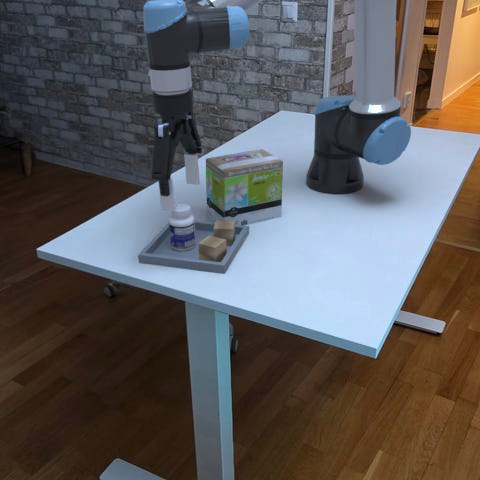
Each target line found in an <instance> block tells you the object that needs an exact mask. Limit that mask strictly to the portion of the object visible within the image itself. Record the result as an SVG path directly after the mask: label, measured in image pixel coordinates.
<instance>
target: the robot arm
mask: <svg viewBox="0 0 480 480" xmlns="http://www.w3.org/2000/svg"><path fill="white" fill-rule="evenodd" d="M263 1H264V0H186V1H184V0H150V1H146V2H145V4H144V6H143V8H142V10H143V12H142V13H143V15H142V16H143V17H142V18H143V20H142V21H143V32H144V37H145V38H144V40H145V45H146V46H145V47H146V51H147V60H148V70H149V71H148V72H147V75H148V77H149V81H150V88H151V90H152V91H153V92H152V93H151V100H152V109H153V112H154V113H155V114H156V115H159V116H160V117H161V124H155V125H154V127H153V129H154V130H153V131H154V142H153V143H154V144H153V155H152V156H153V157H152V167H151V180H155V181H158V191H159V197H160V198H159V199H160V200H159V201H160V208H161V211H170V212H171V211H175V210H176V197H175V194H176V193H175V186H174V185H175V184H174V178H173V177H171V176H172V170H173V165H174V160H175V155H176V148H177V147H178V146H180V143H181V146H182V147H183V149H184V151H185V153H184V154H183V159H184V169H185V181H186V185H200V183H201V181H200V168H199V156H198V155H199V154H202V152H203V148H202V147H201V146H202V142H201V139H200V135H199V131H198V129H197V128H198V127H197V125H196V121H195V118H194V111H193V110H194V100H193V98H194V97H193V91H192V90H191V88H192V87H193V82H192V70H191V60H190V59H191V58H190V56H191V55H196V54H201V53H202V54H203V53H210V52H211V53H212V52H220V51H232V50H235V49H239V48H243V47H245V45H246V44H247V42H248V41H249V37H250V34H251V33H250V20H249V17H248V15H247V11H248V10H250V9H252V8H253V7H256V6H257V5H258V4H260V3H262V2H263ZM396 16H397V0H354V61H355V62H354V64H355V65H354V67H355V68H354V69H355V70H354V73H355V76H354V77H355V80H354V82H355V83H354V84H355V94H354V95H353V94H349V95H348V94H347V95H345V94H344V95H333V96H327V97H322V98H321V99H319V100H318V101H316V102H317V103H316V105H315V112H314V116H315V117H314V142H313V143H314V144H313V145H314V146H313V157H312V159H311V162H310V164H309V167H308V169H307V172H306V176H305V177H306V181H305V182H306V185H307V187H308V188H310V189H312V190H314V191H316V192H321V193H325V194H326V193H327V194H349V193H353V192H357V191H359V190H360V189H362V188H363V186H364V181H365V180H364V179H365V177H364V171H363V169H362V168H363V167H362V165H361V161H360V159H362V160H365V161H366V162H367V163H372V164H376V165H380V166H384V165H385V166H386V165H389V164H391V163H393V162H395V161H396V160H398V159H399V158H400V157H401V156H402V154H403V153H404V152H405V151H406V149H407V147H408V145H409V143H410V139H411V136H412V129H411V125H410V123H409V122H408V121H407V119H406V118H404V117H403V116H401V114H402V111H401V109H402V107H401V104H402V103H401V101H400V100H399V99H398V98H397V97H396V96H395V76H396V75H395V73H396V72H395V71H396V69H395V68H396V34H397V33H396V30H397V29H396V25H397V24H396V23H397V17H396Z"/></svg>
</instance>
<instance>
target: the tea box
mask: <svg viewBox="0 0 480 480" xmlns="http://www.w3.org/2000/svg"><path fill="white" fill-rule="evenodd" d="M283 172H284V160H282V159H281V158H280V157H277V156H275V155H273V154H271V152H269V151H266V150H264V149H262V148H261V149H255V150H249V151H244V152H242V151H241V152H237V153H233V154H232V153H230V154H225V155H220V156H212V157H207V158H205V189H206V192H205V193H206V196H205V197H206V216H207V217H209V218H210V219H211V220H213V221H212V222H214V223H216V220H217V221H235V225H242V226H250V225H253V224H258V223H261V222H265V221H269V220H274V219H280V218H281V217H282V206H283V205H282V204H283V177H284V176H283V175H284V173H283Z"/></svg>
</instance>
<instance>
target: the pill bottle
mask: <svg viewBox="0 0 480 480" xmlns="http://www.w3.org/2000/svg"><path fill="white" fill-rule="evenodd" d="M170 214H171V216H170V217H169V219H168V222H169V227H170V239H171V247H172V248H173V249H175V250H178V251H187V250H190V249H192V248H194V247H195V245H196V239H195V222H194V220H195V217H194V215H192V209H191V206H190V205H189V204H188V203H177V204H176V210H175V211H170Z"/></svg>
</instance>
